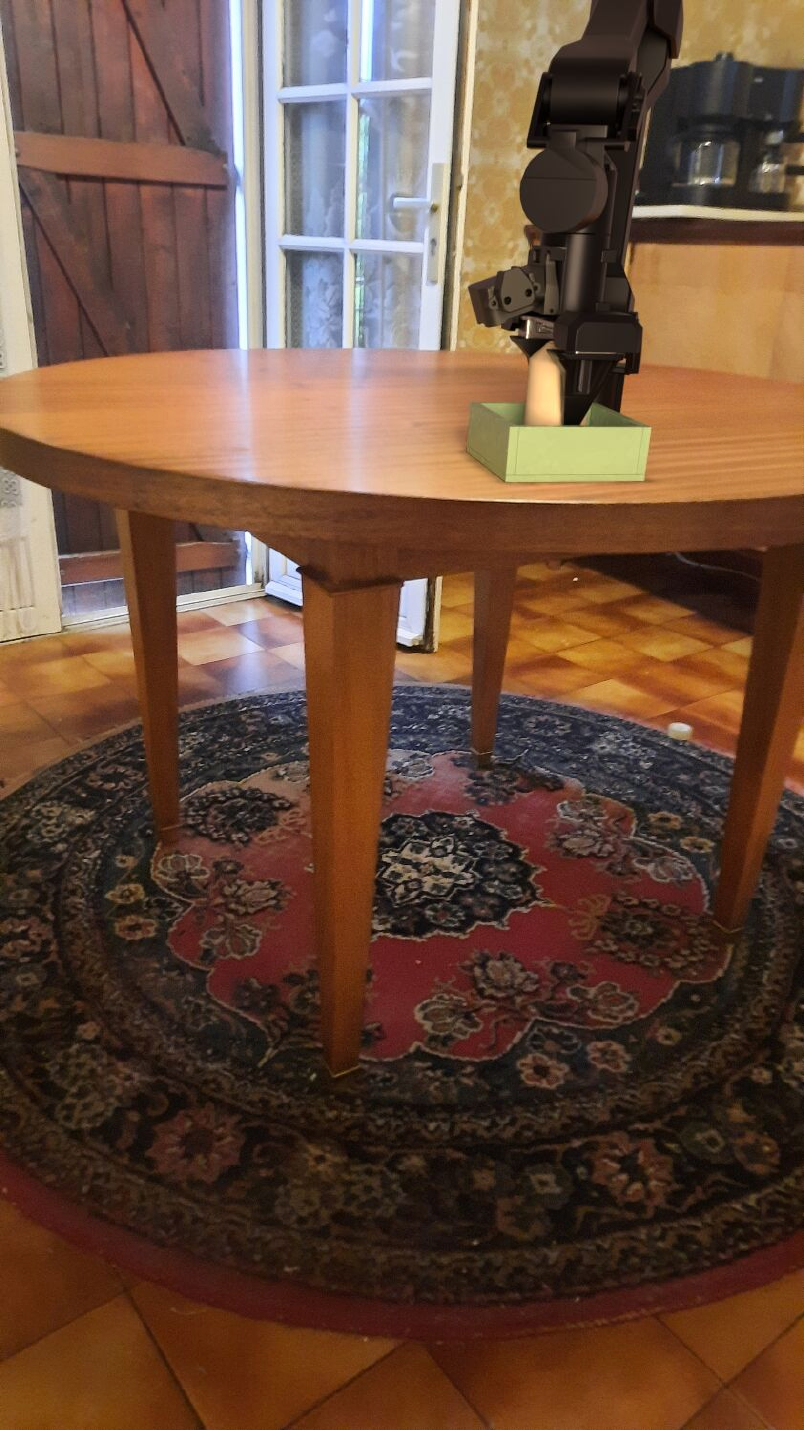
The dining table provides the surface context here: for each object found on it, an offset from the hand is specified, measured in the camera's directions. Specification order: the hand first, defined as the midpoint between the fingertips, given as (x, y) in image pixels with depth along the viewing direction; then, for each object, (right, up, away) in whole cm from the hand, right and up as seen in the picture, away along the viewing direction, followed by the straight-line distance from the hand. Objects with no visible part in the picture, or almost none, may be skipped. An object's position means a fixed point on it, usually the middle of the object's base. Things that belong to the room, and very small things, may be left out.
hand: (555, 426), depth 91 cm
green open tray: (0, -3, +2) cm, 4 cm away
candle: (0, -3, +1) cm, 3 cm away
